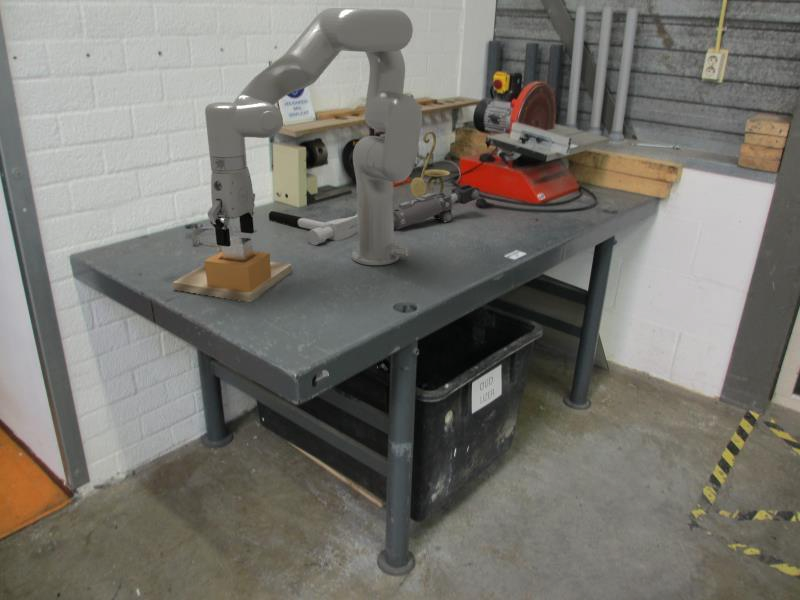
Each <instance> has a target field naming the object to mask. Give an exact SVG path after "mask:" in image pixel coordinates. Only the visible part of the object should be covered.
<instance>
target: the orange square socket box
mask: <svg viewBox="0 0 800 600" xmlns="http://www.w3.org/2000/svg"><path fill="white" fill-rule="evenodd" d="M220 220H221V222H222V223H223V221H224V219H220ZM234 221H235V219H231V218H230V220H229V223H228V226H227V228H228V229H229V233H230V236H232V237H241V238H249V239H251V234H250V233H242V232H241V229H240V226H237V227H236V226H235V223H234ZM199 240H200V243H201V244H202V245H203V246H206V247H211V248H215V251H216V252H215V254H214V255H213V256H211V257H209V258H207V259H205V260H204V264H203V265H201V266H199V267H198V268H196V269H194V270H192V271H191V272H189V273H186V274H184V275H183V276H182V277H180V278H178V279H175V280H174V281H173V282H172V288H173V291H175V290H177V291H176V292H181V291H184V292H183V293H187V292H190V293H189V294H193V293H196V294H195V295H199V294H203V295H202V296H205V295H208V296H207V297H212V296H215V297H214V298H218V297H220V298H219V299H224V298H226V299H225V300H230V299H233V300H232V301H236V300H240V301H239V302H242V301H245V302H244V303H249V302H250V303H252V302H253V301H255V300H256V299H257V298H259V297H260V296H261V295H262V294H264V293H265V292H267V291H268V290H269V289H271V288H272V287H274V286H275V285H276V284H277V283H279V282H280V281H282V280H283V279H285V278H286V277H287V276H288V275H290V274H291V273H293V272H292V271H293V270H292V269H293V268H292V264H290V263H283V262H277V261H271V256H270V254H271V253H270V252H264V251H256V250H253V258H252V259H250V260H248V261H247V262H245V263H242V262H235V261H228V260H223V257H222V248H221V246H219V245H217V242H216V233H215V228H214V229H209V230H206V231H204V232H202V233H201V234H200V235H198V241H199Z"/></svg>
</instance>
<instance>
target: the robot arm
mask: <svg viewBox="0 0 800 600" xmlns="http://www.w3.org/2000/svg"><path fill="white" fill-rule="evenodd" d="M413 31H414V29H413V23H412V21H411V19H410V17H409V16H408V15H407V14H406V13H405V12H404V11H402V10H399V9H395V8H394V9H389V8H388V9H385V8H384V9H382V8H381V9H379V8H377V9H375V8H372V9H371V8H369V9H367V8H355V7H354V8H353V7H330V8H326V9H324V10H322V11H321V12H319V13H318V14H317V15H316V16H315V18H314V19H312V21H311V22H310V23H309V25H308V26H307V27H306V28H305V29H304V30H303V31H302V33H301V34H300V35H299V37H298V38H297V39H296V40H295V42H294V43H292V45H291V46H290V47H289V48H288V49H287V51H286V52H284V54H283V55H281V56H280V57H279V58H278V59H275V61H273V62H272V63H271V64H270V65H268V66H267V67H265V69H263V70H262V71H261V72H259V73H258V74H257V75H255V76H254V77H253V79H251V81H249V82H248V84H247V85H246V86H245V87H244V88H243V89H242V91H241V92H240V93H239V94H238V96H237V97H236V98H235V100H234V102H230V101H229V102H228V101H227V102H226V101H224V102H223V101H221V102H220V101H219V102H212V103H209V104H207V105H206V106H205V109H204V110H205V111H204V115H205V124H206V133H207V134H206V135H207V142H208V143H207V145H208V151H209V161H210V171H211V176H210V178H211V180H210V183H211V184H210V189H211V190H210V191H211V194H210V195H211V203H212V204H211V205H212V206H211V207H210V209H209V210H208V212H207V217H208V219H209V222H210V224H211V226H212V227H213V228H215V233H216V242H217V245H219V246H227V247H229V246H230V245H231V243H230V233H229V229H228V228H227V226H228V223H229V220H230V218H231V219H233V220H235V219H238V218H239V228H240V229H241V232H242V233H250V235H252V234H254V232H255V231H254V229H255V227H254V217H253V216H254V212H255V211H254V208H255V206H256V205H255V199H256V193H254V190H253V183H252V177H251V174H250V170H249V167H248V163H247V150H246V139H245V138H258V139H260V138H261V139H267V138H272V137H273V136H276V135H277V134H278V133H280V131H281V130H282V128H283V122H284V118H283V114H282V112H281V110H280V108H279V107H277V106H276V104H277V103H278V102H279V101H280V100H281V99H283V98H284V97H286V96H288V95H290V94H292V93H294V92H297V91H300V90H302V89H305V88H308V87H310V86H312V85H313V84H314V83H316V82H317V80H319V78H320V77H321V75H322V74H323V73H324V71H325V70H326V69H327V68H328V67H329V66H330V65H331V63H332V62H333V61H334V60H335V59H336V57H337V56H338V55H339V54H340V52H343V51H345V52H362V53H364V52H365V54H366V57H367V59H368V63H369V65H368V66H369V76H368V77H369V78H368V83H367V90H366V91H367V92H366V98H365V99H366V100H365V104H364V105H365V106H364V121H365V123H366V124H367V126H368V127H370V128H371V129H373V130H376V131H379V132H383V133H385V135H384V137H382V136H377V135H369V136H368V135H367V136H364V137H362V138H361V139H359V140H358V141H357V142H356V143H355V146H354V149H353V152H352V164H353V170H354V175H355V181H356V212H357V213H356V214H357V223H356V224H357V233H356V234H357V248H356V249H354V250H353V251H352V253H351V258H352V261H354V262H355V263H358V264H361V265H365V266H386V265H390V264H393V263H396V262H397V261H398V260H399V259H400V257H406V258H407V257H408V256H409V249H408V248H407V246H399V245H398V240H395V239H394V235H395V234H394V233H395V232H394V230H395V229H394V210H395V189H394V183H401V182H403V181H406V180H407V179H408V178H409V177H410V175H411V174H412V172H413V170H414V167H415V164H416V159H417V154H418V149H419V144H420V143H419V142H420V137H421V132H422V125H423V114H422V113H423V112H422V108H421V106H420V104H419V102H418V100H416V98H415V97H413V96H411V95H409V94H406V93H404V87H405V78H406V77H405V76H406V63H405V58H404V56H403V53H402V51H401V50H403V49H404V48H406V47H407V46H408V44H410V42H411V40H412V37H413V34H414V33H413ZM220 219H224V221H223V223H222V222H221V220H220Z"/></svg>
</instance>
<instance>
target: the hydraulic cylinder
mask: <svg viewBox="0 0 800 600" xmlns="http://www.w3.org/2000/svg"><path fill="white" fill-rule="evenodd" d="M480 195H481V191H480V188H478V187H477V186H471V184H462V185H461V186H458V187H454V188H451V194H448V193H445V192H444V191H443V192H442V193H440V192H437V191H435V192H433V193H427V194H425V195H424V196H421V198H418V197H415V200H413V199H411V201H404V202H402V203H399V205H398V208H397V209H394V228H395V229H394V230H396V229H398V230H401V229H403V228H406V227H409V226H411V225H414V224H416V223H419V222H421V221H424V220H427V219H430V218H434V219H435V218H440V219H439V220H441V222H443V221H449V222H450V221H451V219H453V217H454V215H453V214H452V213H453V212H452V210H453V209H454V208H453V206H452V205H453V204H462V205H465V204H466V205H467V204H468V203H470V202H472V201H475V200H477V199H479V197H480Z"/></svg>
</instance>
